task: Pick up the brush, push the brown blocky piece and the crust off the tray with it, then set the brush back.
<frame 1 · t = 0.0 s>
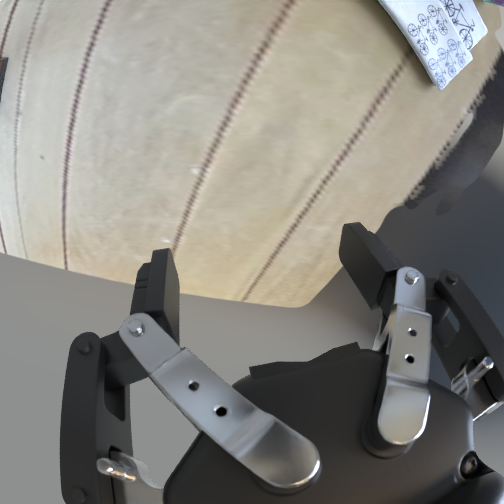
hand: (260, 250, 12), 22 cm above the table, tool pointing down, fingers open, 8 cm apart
folded bicycle print cloth: (437, 10, 18), on the table
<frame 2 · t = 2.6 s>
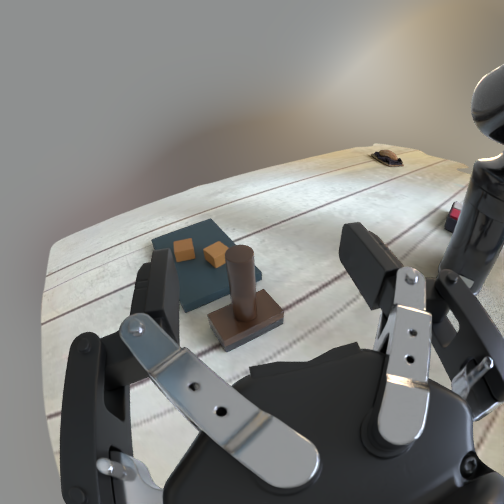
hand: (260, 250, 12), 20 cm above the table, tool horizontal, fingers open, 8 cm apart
red-topped box: (473, 233, 47), on the table
brown domed lump: (386, 161, 81), on the table
crust b: (185, 254, 43), point 1 cm above the table, touching tray
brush: (246, 325, 33), on the table
brown blocky piece: (218, 259, 41), point 1 cm above the table, touching tray
tray: (200, 261, 44), on the table
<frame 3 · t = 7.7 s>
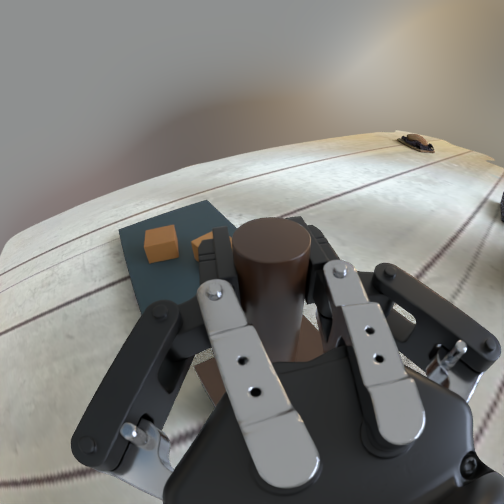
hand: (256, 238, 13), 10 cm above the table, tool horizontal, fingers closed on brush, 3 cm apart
brown domed lump: (415, 147, 65), on the table
crust b: (163, 251, 26), point 1 cm above the table, touching tray
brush: (269, 382, 17), on the table, touching gripper
brown blocky piece: (216, 259, 25), point 1 cm above the table, touching tray
tray: (188, 261, 27), on the table
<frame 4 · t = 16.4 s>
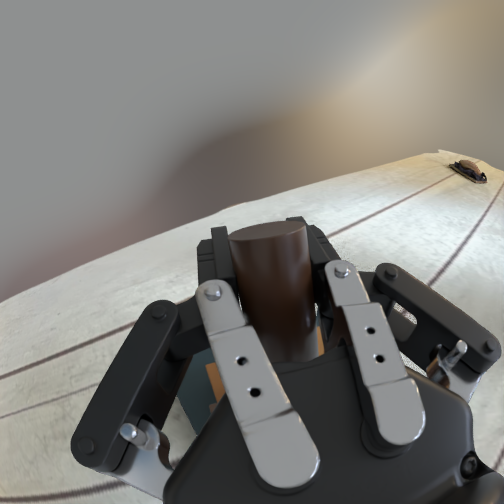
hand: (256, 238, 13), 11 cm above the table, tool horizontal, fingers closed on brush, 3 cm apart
brown domed lump: (467, 175, 53), on the table
crust b: (238, 390, 16), point 2 cm above the table
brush: (296, 433, 13), point 2 cm above the table, tilted 24°, touching gripper
tray: (297, 423, 15), on the table
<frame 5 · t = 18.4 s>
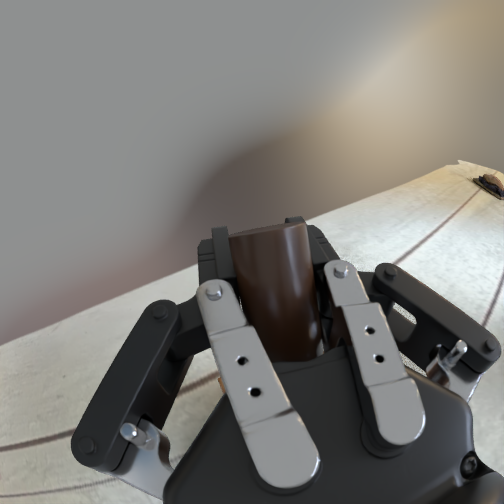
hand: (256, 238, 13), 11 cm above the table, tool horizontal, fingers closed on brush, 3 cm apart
brown domed lump: (491, 190, 47), on the table
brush: (302, 450, 11), point 3 cm above the table, tilted 31°, touching brown blocky piece, gripper
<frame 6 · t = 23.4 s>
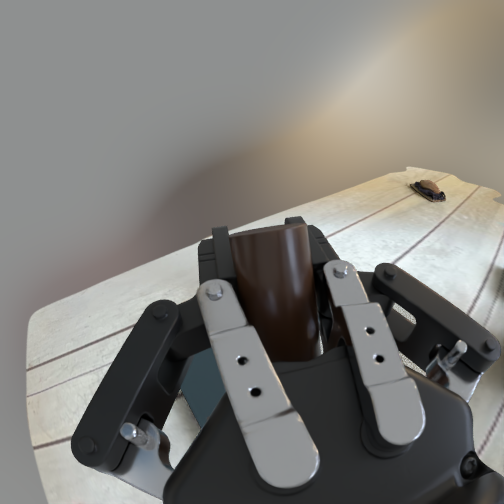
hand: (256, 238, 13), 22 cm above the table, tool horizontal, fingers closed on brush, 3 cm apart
brown domed lump: (427, 193, 67), on the table
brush: (298, 452, 11), point 14 cm above the table, tilted 31°, touching gripper
tray: (234, 380, 29), on the table
when the fingers open (9 cm above the table, at t = 28.2 s): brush drops 1 cm, on the table.
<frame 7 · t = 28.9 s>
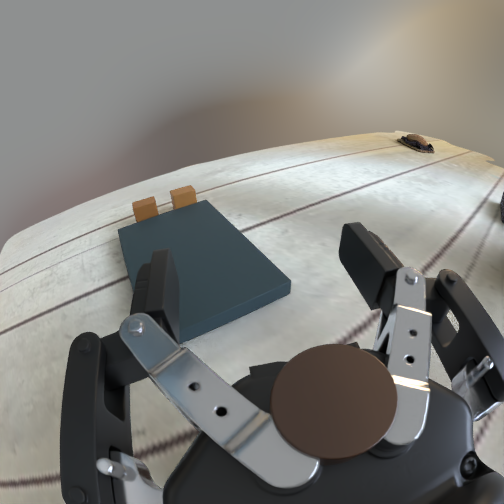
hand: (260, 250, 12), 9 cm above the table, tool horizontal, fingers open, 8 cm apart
brown domed lump: (415, 147, 65), on the table
crust b: (146, 215, 32), point 2 cm above the table, tilted 90°
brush: (292, 464, 12), on the table
brown blocky piece: (185, 203, 34), point 1 cm above the table, tilted 90°
tray: (187, 261, 27), on the table
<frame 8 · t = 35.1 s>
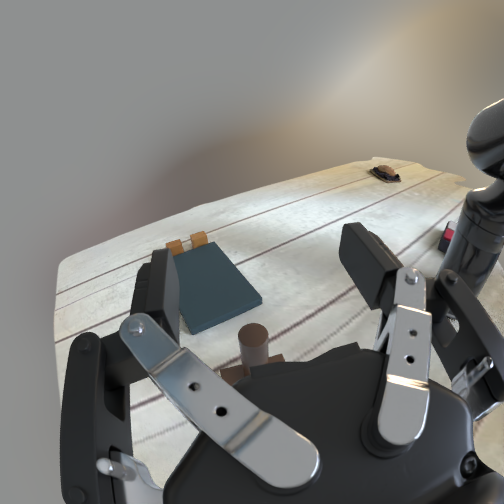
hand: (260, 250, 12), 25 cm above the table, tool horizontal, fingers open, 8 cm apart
red-topped box: (466, 252, 50), on the table
brown domed lump: (385, 176, 84), on the table
crust b: (176, 252, 52), point 1 cm above the table, tilted 90°
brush: (257, 385, 31), on the table
brown blocky piece: (200, 243, 54), point 2 cm above the table, tilted 90°
tray: (205, 284, 47), on the table
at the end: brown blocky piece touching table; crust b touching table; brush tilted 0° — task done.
